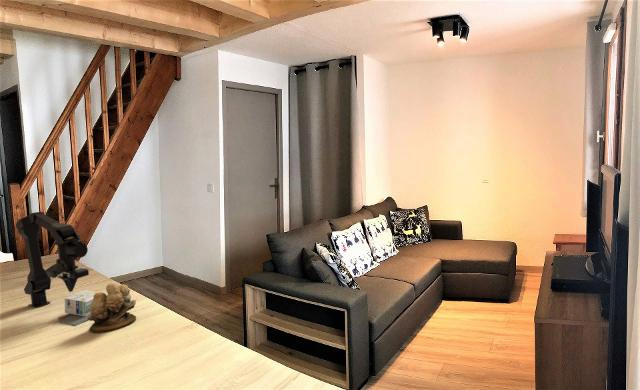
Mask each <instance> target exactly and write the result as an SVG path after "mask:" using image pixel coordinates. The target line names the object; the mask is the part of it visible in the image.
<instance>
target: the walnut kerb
mask: <svg viewBox="0 0 640 390" xmlns="http://www.w3.org/2000/svg"><path fill="white" fill-rule="evenodd" d="M71 315H74V314H69V313H66V314H64V315H62V316H59V317H57V321H58V320H61V319H64V318H66V317H69V316H71Z"/></svg>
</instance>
